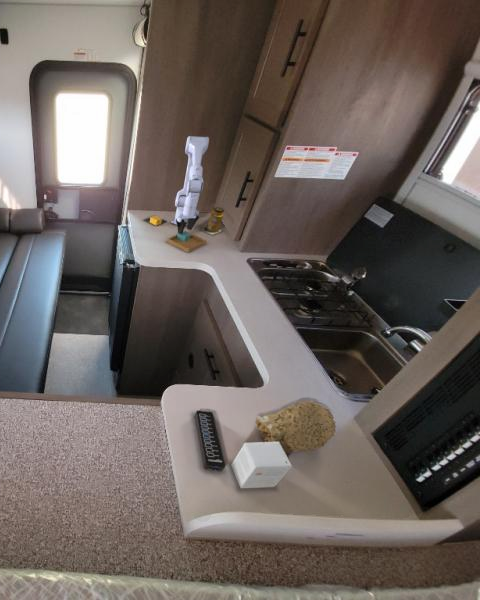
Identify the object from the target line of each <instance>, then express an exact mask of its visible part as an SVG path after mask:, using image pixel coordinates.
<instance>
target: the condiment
mask: <svg viewBox="0 0 480 600" xmlns="http://www.w3.org/2000/svg"><path fill="white" fill-rule="evenodd" d="M224 212H225V209H224V208H223V207H220V206H219V207H218V206H215V207H213V209H212V211H211V213H210V216H209V221H208V225H207V227H204V228H201V229H200V230H202V231H203V232H205V233H207V234H210V235H212V236H213V235H215V234H219V233H220V232H223V230H222V229H220V228H221V225H222V221H223V219H224Z"/></svg>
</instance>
